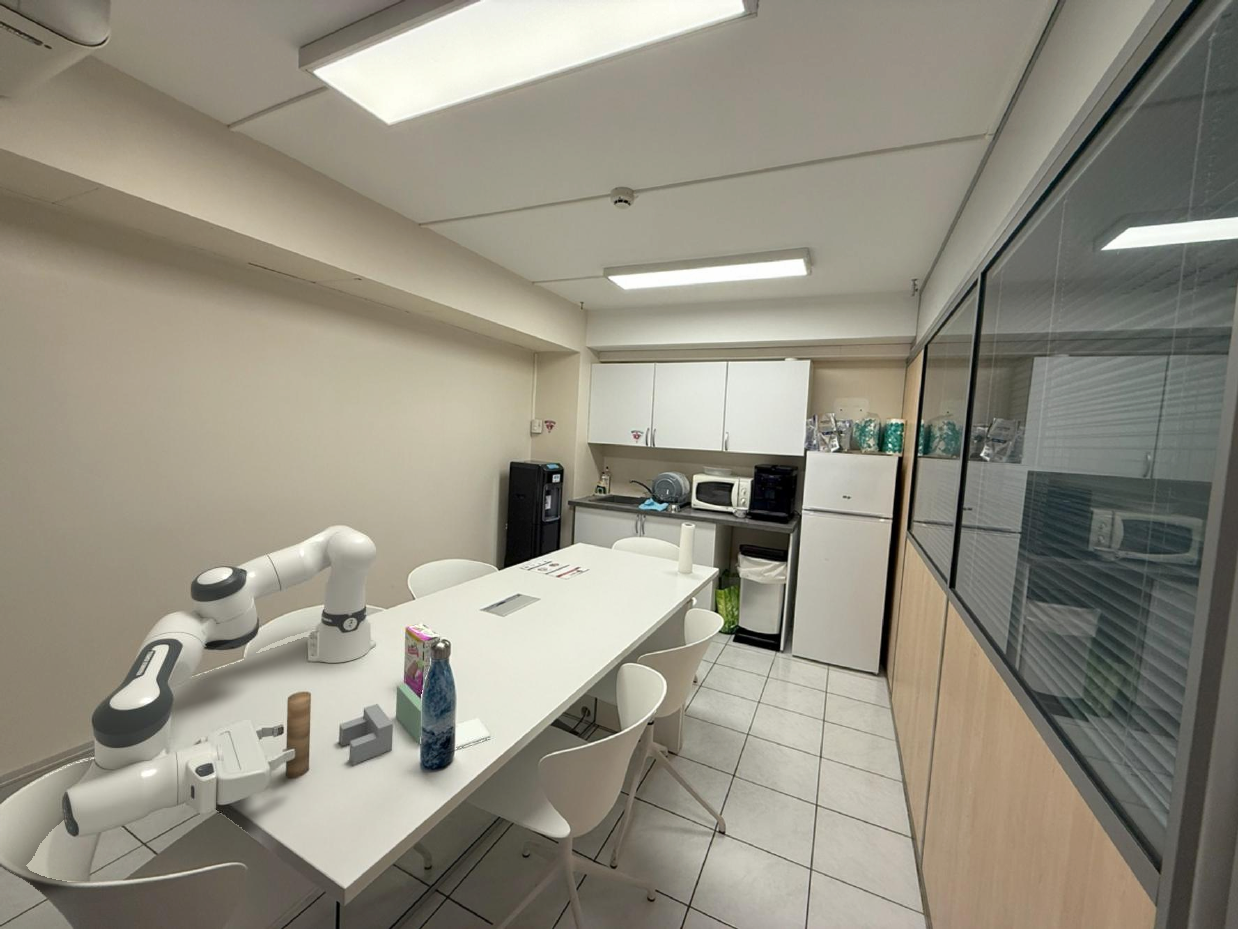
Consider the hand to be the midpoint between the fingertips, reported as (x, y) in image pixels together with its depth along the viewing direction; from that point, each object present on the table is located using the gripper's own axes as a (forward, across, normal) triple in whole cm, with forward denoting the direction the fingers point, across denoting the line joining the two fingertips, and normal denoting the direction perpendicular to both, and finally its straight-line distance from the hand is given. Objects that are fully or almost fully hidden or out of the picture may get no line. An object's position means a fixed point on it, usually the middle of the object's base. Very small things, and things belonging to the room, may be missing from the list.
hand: (288, 739), depth 98 cm
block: (+15, -1, -8) cm, 17 cm away
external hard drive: (+32, +10, -9) cm, 35 cm away
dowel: (+2, -1, -8) cm, 8 cm away
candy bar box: (+34, -16, -8) cm, 39 cm away
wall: (+25, 0, -8) cm, 26 cm away
